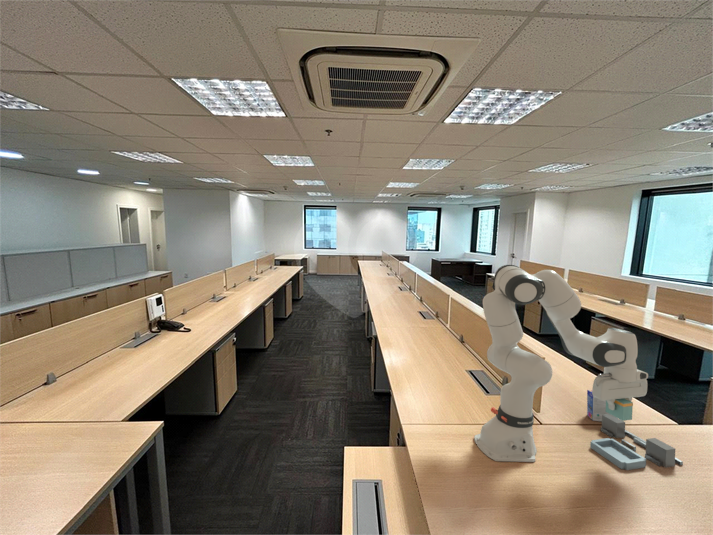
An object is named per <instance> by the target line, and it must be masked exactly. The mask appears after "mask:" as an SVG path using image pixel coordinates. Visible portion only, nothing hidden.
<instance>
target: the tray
mask: <svg viewBox="0 0 713 535" xmlns="http://www.w3.org/2000/svg"><path fill="white" fill-rule="evenodd" d="M589 445H590V447H589V448H590V449H592V451H594V452H596V453H597V454H599V455H601V457H603V458H605V459H606V460H608V461H609V462H610V463H612V464H613V465H615V466H616V467H618V468H619V469H621V470H626V471H629V470H630V471H631V470H637V469H638V470H639V469H644V468H646V466H647V459H646V458H645V456H643V455H640V454H639V453H637V452H635V451H633V450H631V449H630V448H628V447H626V446H625V445H623V444H622V443H621V442H619V441H617V439H614V438H609V437H607V438H606V437H605V438H599V439H598V438H597V439H591V441H590V444H589Z"/></svg>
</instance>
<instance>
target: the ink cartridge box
mask: <svg viewBox="0 0 713 535" xmlns="http://www.w3.org/2000/svg"><path fill="white" fill-rule="evenodd" d="M586 392H587V394H586V395H587V396H586V400H587V401H586V402H587V403H586V405H587V406H586V408H587V409H586V410H587V411H586V415H587V417H589V419H590V420H591V421H596V422H602V415H606V414H609V413H607V412H606V400H604V401H602V400H600V399H597V398H596V397H594V396H593V394H592V389H587V391H586ZM616 418H617V417H616Z"/></svg>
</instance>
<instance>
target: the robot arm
mask: <svg viewBox="0 0 713 535" xmlns="http://www.w3.org/2000/svg"><path fill="white" fill-rule="evenodd" d="M492 282H493V283H492V286H491V287H492V289H493V291H492V292H489V293H487V294H485V295H484V297H483V298H482V308H483V315H484V318H485V322H486V324H487V327H488V329H489V333H490V335H491V341H492V343H491V344H490V345H489V347H488V349H487V352H486V357H487V361H488V362H489V363H491V364H492V365H493V366H494V367H495V368H496V369H498V370H500V371H502V372H504V373H507V374H508V375H510V377H511V380H510V382H509V383H506V384H504V385H502V386H501V388H500V398H499V399H500V401H499V402H500V403H499V406H498V409H496V407H495V406H492V407H491V408H490V411H491V413H493V414H494V415H495V416H494V417H492V418H491V419H489V420H488V421H487V422H486V423H484V424H483V425H482V426H481V429H480V433H478V434H475V435H473V436H474V437H473V438H474V439H473V440H474V443H475V444H477V445H476V446H477V447H478V449H479V450H480V451H481V452H482V453H484V455H485V456H487V457H488V458H489V459H491V460H493V461H495V462H517V463H518V462H521V463H522V462H526V463H535V462H536V455H537V447H536V442H535V439H534V438H535V437H534V430H533V426H534V422H535V420H534V413H533V404H534V396H535V393H536V391H537V390H538V388H541V387H543V386H546V385H547V384H549V383H550V381H551V380H552V377H553V369H552V366H551V364H550V363H549V362H548V361H547V360H545V359H544V358H543V357H541V356H539V355H537V354H535V353H532V352H530V351H528V350H525V349H522V348H520V346H519V345H518V343H520V341H521V340H522V339H523V337H524V331H523V328H522V325H521V322H520V319H519V318H520V317H519V315H518V313H517V310H516V304H517V305H522V306H523V305H530V304H532V303H534V302H536V301H538V302H539V303H540V305H541V306H542V308H543V309H544V311H545V313H546V315H547V316H546V317H547V318H548V319H549V321H550V323H551V324H552V326H553V327H554V330H555V331H556V332H557V334H558V336H559V337H560V341H561V346H562V348H563V350H564V351H565V352H566V353H567V354H568V355H571V356H573V357H576V358H580V360H581V359H582V360H583V361H586V362H587V363H588V362H589V363H592V364H593V365H597V366H599V367H603V373H598V375H597V376H596V377H595V378H594V379H593V383H592V389H591V390H592V394H593V396H594V397H596V398H597V399H600V400H602V401H604V400H606V401H607V402H608V407H609V409H611V410H617V406H616V405H615V404H614V402H615V399H623V398H625V399H627V400H629V401H631V402H633V398H640V397H645V396H646V395H647V392H648V380H647V379H648V378H649V373H648V372H645V371H643V370H640V369H638V365H637V362H636V360H637V358H638V353H639V352H638V351H639V350H638V340H637V336H636V334H635V333H633V332H631V331H628V330H625V329H621V328H617V327H608V328H607V330H606V332H605V333H603V334H601V335H600V336H593V335H590V334H588V333H584V332H583V331H580V330H579V329H577V328H576V326H575V325H574V323H573V322H572V320H571V319H572V318H574V317H575V316H577V315H578V314H579V312H580V311H581V309H582V302H581V300H580V298H579V296H578V294H577V293H576V292H575V290H574V288H572V286H570V284H569V283H568V282H567V281H566V279H565V278H563V277H562V276H561V275H560V274H559V273H557V272H556V271H555V270H552V269H542V270H540V271H538V272H536V273H534V274H530V273H528V272H527V271H526V270H524V269H523V268H520V267H519V266H517V265H515V264H505V265H502V266H500V267H498V268H497V270H496V271H495V274H494V276H493V281H492Z"/></svg>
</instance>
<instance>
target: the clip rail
mask: <svg viewBox="0 0 713 535" xmlns="http://www.w3.org/2000/svg"><path fill="white" fill-rule="evenodd" d="M600 432H602V433H603V434H605V435H607V436H608V437H610V438H615V437H614V434H613V433H612V432H610V431H608V430H607V429H605V428H603V427H602V426H601V427H600ZM626 436H627V437H629V438H631V439H633V442H634V443H635V444H637V445H639V446H641V447H642V448H644V449H645V450H646V439H645V440H644V439H643V438H641V437H639V436H637V435H636V434H634V433H632V432H631V431H629V430H626V429H625V437H626ZM620 443H621V444H622V445H624V446H626V447H627V448H629V449H631V450H632V451H634V452H635V451H637V446H636V445H634V444H632V443H631V442H629V441H627V440H626V439H624V438H622V439H621V442H620ZM644 458H646V460H647V461H650V462H651V463H653V464H655V465H656V466H658V467H663V466H662V462H661V461H659V460H658V459H656V458H654V457H653V456H651V455H649V454H647V453H646V452H645V453H644ZM675 464H678V465H679V466H683V464H684V461H682V460H680V459H679V458H677V457H675Z"/></svg>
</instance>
